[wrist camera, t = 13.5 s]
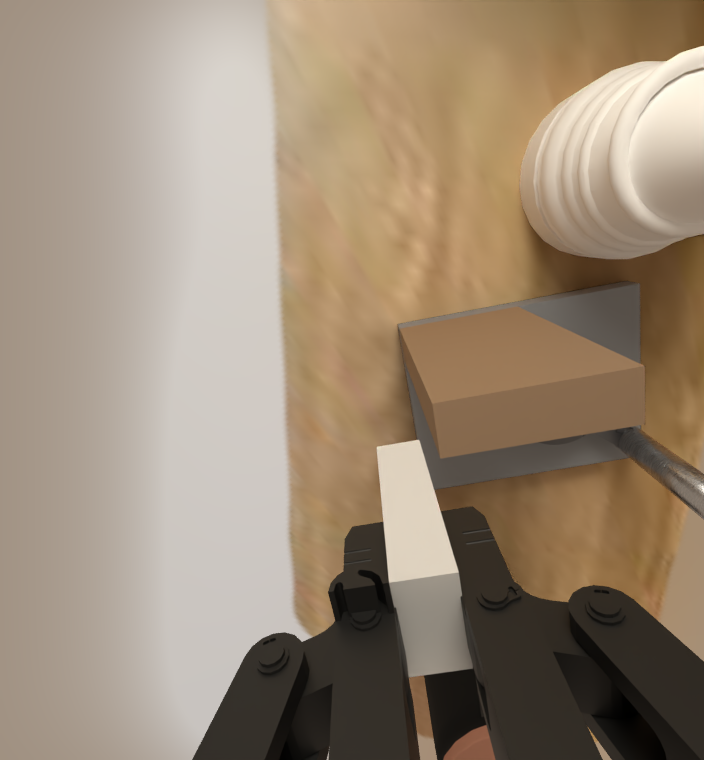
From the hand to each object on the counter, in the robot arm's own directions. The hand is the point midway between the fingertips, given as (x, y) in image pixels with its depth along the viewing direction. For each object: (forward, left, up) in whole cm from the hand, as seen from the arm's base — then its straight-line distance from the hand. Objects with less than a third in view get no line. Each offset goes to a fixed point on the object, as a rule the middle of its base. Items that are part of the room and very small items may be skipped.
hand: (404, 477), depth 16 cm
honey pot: (-9, +20, -27) cm, 35 cm away
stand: (+8, +12, -26) cm, 30 cm away
